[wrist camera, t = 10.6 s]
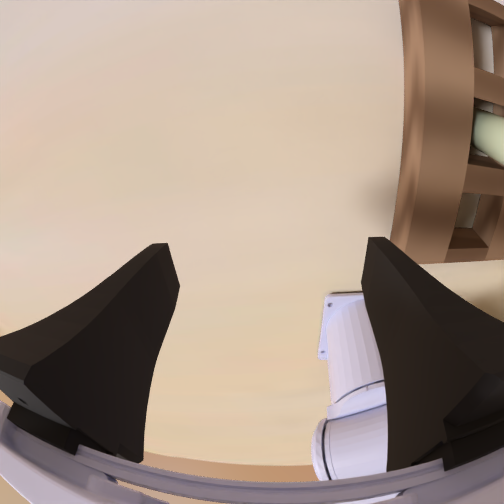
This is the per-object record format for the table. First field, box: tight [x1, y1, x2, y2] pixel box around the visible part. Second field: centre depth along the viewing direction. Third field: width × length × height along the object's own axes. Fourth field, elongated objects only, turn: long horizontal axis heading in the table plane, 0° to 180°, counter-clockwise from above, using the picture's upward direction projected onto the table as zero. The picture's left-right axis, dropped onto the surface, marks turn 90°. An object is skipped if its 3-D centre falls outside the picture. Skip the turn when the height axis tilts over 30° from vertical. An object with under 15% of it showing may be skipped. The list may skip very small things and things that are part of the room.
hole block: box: [390, 0, 504, 264], centre depth 14 cm, size 20×12×3 cm, turn 5°
